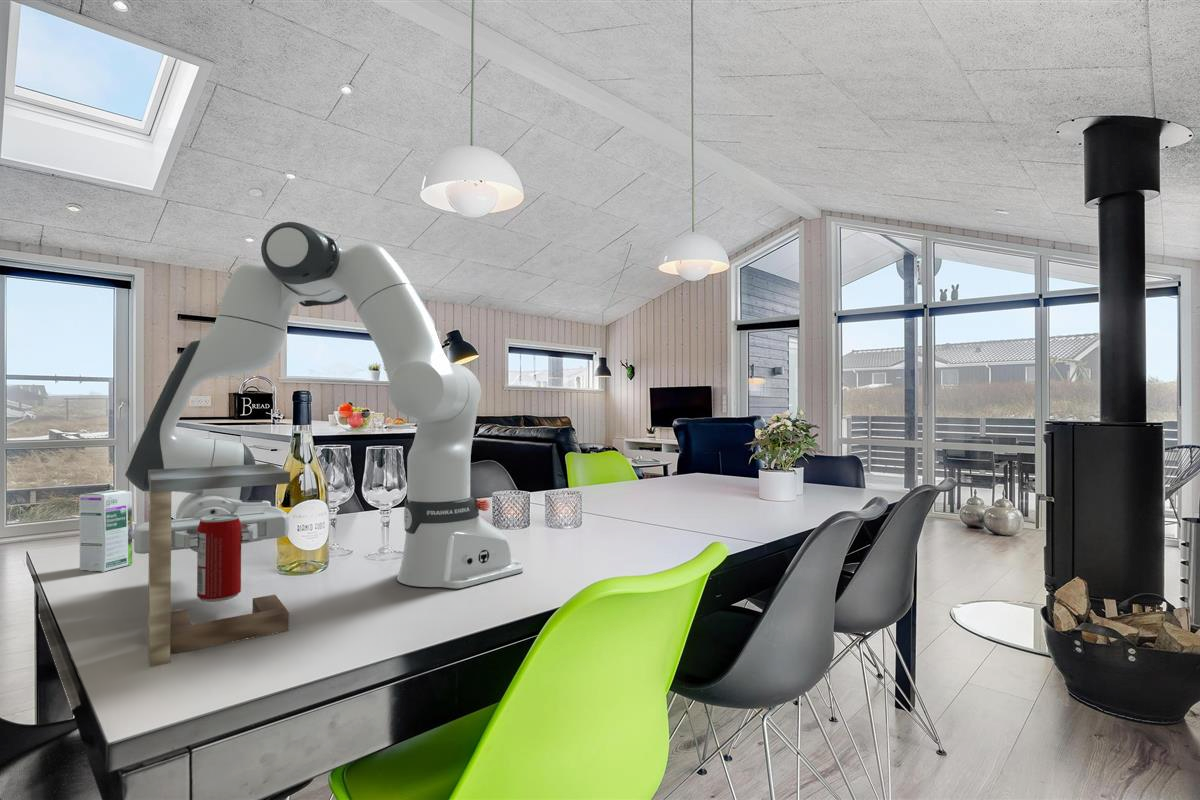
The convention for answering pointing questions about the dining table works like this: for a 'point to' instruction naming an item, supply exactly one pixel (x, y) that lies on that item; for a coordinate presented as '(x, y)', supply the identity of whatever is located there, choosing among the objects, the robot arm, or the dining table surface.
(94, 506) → the syrup box
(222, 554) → the soda can
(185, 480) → the wooden c-frame stand
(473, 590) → the dining table surface
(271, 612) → the socket
